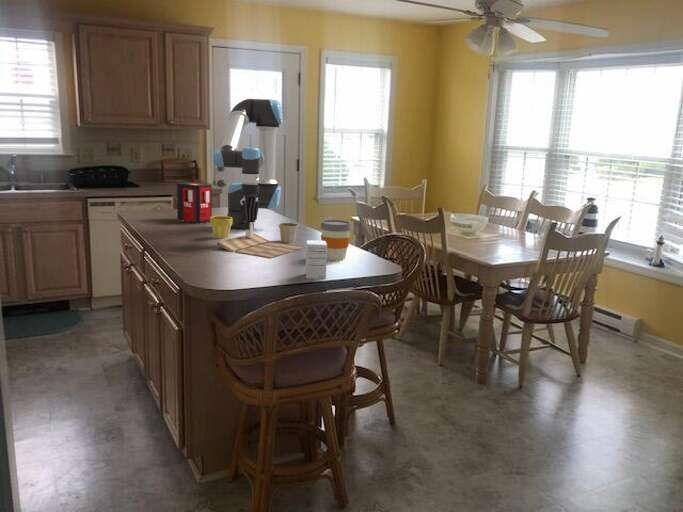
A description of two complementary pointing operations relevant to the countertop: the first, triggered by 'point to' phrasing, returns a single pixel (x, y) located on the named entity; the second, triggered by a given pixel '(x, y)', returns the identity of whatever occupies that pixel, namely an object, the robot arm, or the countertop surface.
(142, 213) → the countertop surface
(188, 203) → the cleaning product box
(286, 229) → the flower pot
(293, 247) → the laid floor
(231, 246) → the board
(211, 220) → the plant pot
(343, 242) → the reusable coffee cup
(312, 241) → the supplement box
